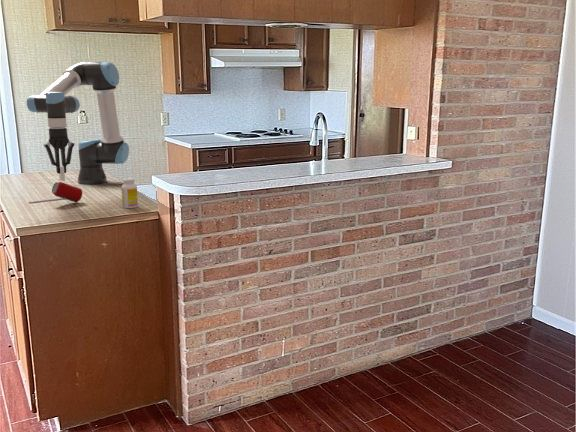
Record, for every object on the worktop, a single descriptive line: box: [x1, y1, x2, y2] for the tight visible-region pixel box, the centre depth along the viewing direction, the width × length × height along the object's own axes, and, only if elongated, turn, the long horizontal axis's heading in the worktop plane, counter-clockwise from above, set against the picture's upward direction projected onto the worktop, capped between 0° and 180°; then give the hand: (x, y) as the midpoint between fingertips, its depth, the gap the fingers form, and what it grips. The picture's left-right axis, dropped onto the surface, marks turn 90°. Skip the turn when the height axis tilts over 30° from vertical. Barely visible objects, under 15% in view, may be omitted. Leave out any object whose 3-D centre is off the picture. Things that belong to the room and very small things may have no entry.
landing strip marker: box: [28, 197, 64, 204], centre depth 259 cm, size 18×2×1 cm, turn 127°
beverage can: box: [51, 181, 83, 203], centre depth 252 cm, size 7×7×12 cm
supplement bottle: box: [121, 177, 139, 209], centre depth 247 cm, size 7×7×13 cm
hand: (62, 180), depth 249 cm, fingers closed
